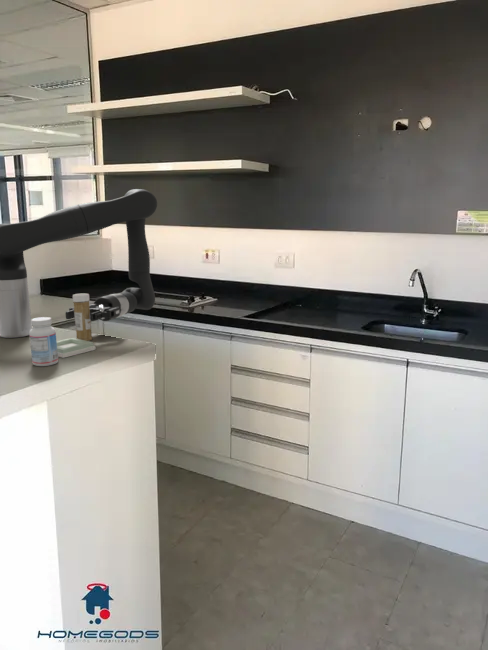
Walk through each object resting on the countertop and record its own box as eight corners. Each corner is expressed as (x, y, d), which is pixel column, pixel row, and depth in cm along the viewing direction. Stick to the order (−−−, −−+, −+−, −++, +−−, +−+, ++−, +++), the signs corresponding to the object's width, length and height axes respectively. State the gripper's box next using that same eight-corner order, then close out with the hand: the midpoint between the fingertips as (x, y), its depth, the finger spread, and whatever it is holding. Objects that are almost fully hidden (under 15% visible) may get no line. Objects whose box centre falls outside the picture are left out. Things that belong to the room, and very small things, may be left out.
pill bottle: (49, 358, 139) (45, 315, 137) (63, 362, 135) (59, 318, 133) (27, 364, 135) (22, 319, 132) (40, 368, 131) (36, 322, 128)
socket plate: (41, 351, 146) (40, 344, 146) (73, 344, 154) (73, 337, 153) (63, 357, 140) (62, 350, 139) (95, 349, 147) (95, 342, 147)
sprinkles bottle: (94, 340, 158) (91, 294, 155) (78, 342, 156) (75, 295, 153) (89, 337, 162) (86, 292, 159) (74, 339, 159) (70, 293, 156)
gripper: (91, 294, 172) (57, 302, 157) (130, 295, 167) (99, 304, 152) (93, 317, 174) (59, 327, 159) (132, 319, 169) (101, 331, 154)
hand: (79, 316), depth 156 cm, fingers open, 8 cm apart
